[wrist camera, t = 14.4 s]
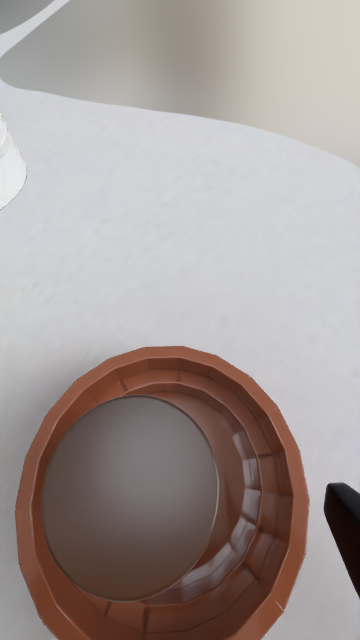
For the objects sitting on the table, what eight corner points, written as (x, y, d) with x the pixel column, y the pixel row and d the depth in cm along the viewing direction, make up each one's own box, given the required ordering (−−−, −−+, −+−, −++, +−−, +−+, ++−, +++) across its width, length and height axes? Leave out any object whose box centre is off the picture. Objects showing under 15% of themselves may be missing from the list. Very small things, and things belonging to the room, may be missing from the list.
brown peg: (199, 517, 15) (286, 686, 3) (130, 515, 15) (-59, 676, 3) (198, 442, 17) (253, 359, 5) (136, 440, 17) (32, 353, 5)
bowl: (322, 499, 16) (370, 508, 12) (136, 707, 12) (116, 816, 8) (185, 338, 21) (187, 306, 17) (19, 455, 17) (-29, 449, 13)
